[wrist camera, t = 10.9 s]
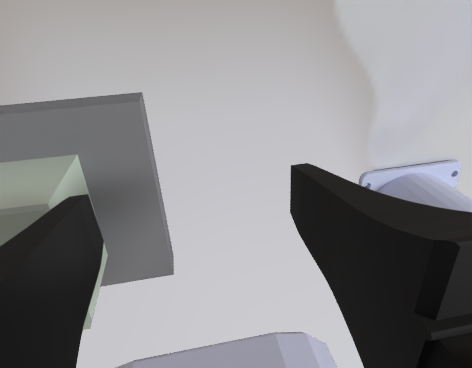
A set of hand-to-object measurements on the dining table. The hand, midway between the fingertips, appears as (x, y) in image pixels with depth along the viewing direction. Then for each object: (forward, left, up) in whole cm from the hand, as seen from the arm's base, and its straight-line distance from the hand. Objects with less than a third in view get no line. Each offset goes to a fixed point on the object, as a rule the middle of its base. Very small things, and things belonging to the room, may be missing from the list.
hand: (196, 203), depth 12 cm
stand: (-4, +8, -9) cm, 13 cm away
